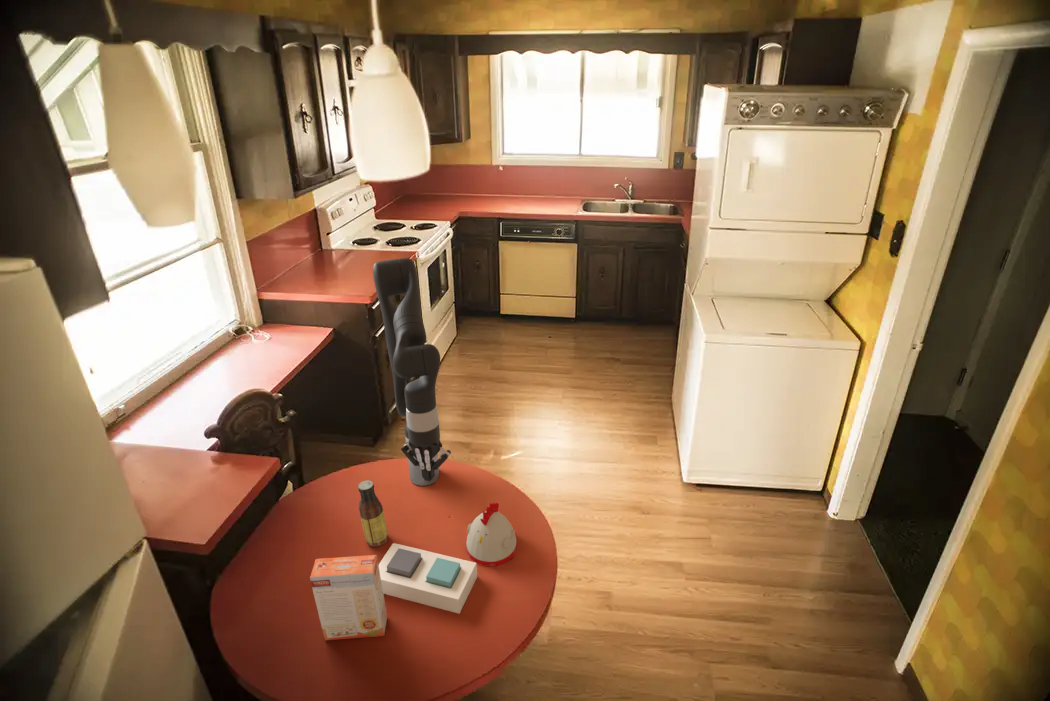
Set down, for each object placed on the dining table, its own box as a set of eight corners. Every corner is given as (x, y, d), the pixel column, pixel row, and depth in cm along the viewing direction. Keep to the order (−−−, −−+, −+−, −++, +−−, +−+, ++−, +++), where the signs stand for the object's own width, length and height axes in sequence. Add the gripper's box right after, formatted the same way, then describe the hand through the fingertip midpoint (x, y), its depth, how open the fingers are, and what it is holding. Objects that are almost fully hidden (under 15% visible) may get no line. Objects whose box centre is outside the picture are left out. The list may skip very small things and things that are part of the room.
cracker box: (387, 615, 146) (377, 553, 137) (384, 637, 141) (373, 574, 131) (329, 619, 146) (315, 556, 136) (324, 641, 140) (308, 577, 131)
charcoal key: (400, 559, 159) (398, 548, 157) (422, 564, 157) (420, 553, 155) (388, 577, 153) (386, 566, 151) (411, 583, 152) (409, 572, 150)
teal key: (438, 568, 156) (437, 557, 154) (460, 574, 154) (460, 563, 152) (427, 587, 150) (426, 576, 149) (451, 593, 149) (449, 582, 147)
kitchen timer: (456, 554, 164) (453, 512, 157) (483, 522, 175) (481, 482, 168) (500, 573, 158) (499, 530, 151) (525, 539, 169) (524, 498, 162)
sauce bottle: (391, 532, 171) (383, 477, 162) (384, 548, 166) (375, 493, 157) (369, 531, 172) (359, 476, 163) (361, 547, 166) (351, 491, 157)
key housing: (395, 556, 163) (393, 542, 161) (477, 576, 157) (476, 562, 155) (372, 590, 153) (370, 576, 151) (459, 613, 147) (458, 599, 144)
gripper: (454, 417, 144) (458, 474, 152) (405, 409, 147) (411, 465, 155) (441, 435, 138) (446, 493, 146) (390, 425, 141) (398, 483, 149)
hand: (428, 479), depth 150 cm, fingers closed
